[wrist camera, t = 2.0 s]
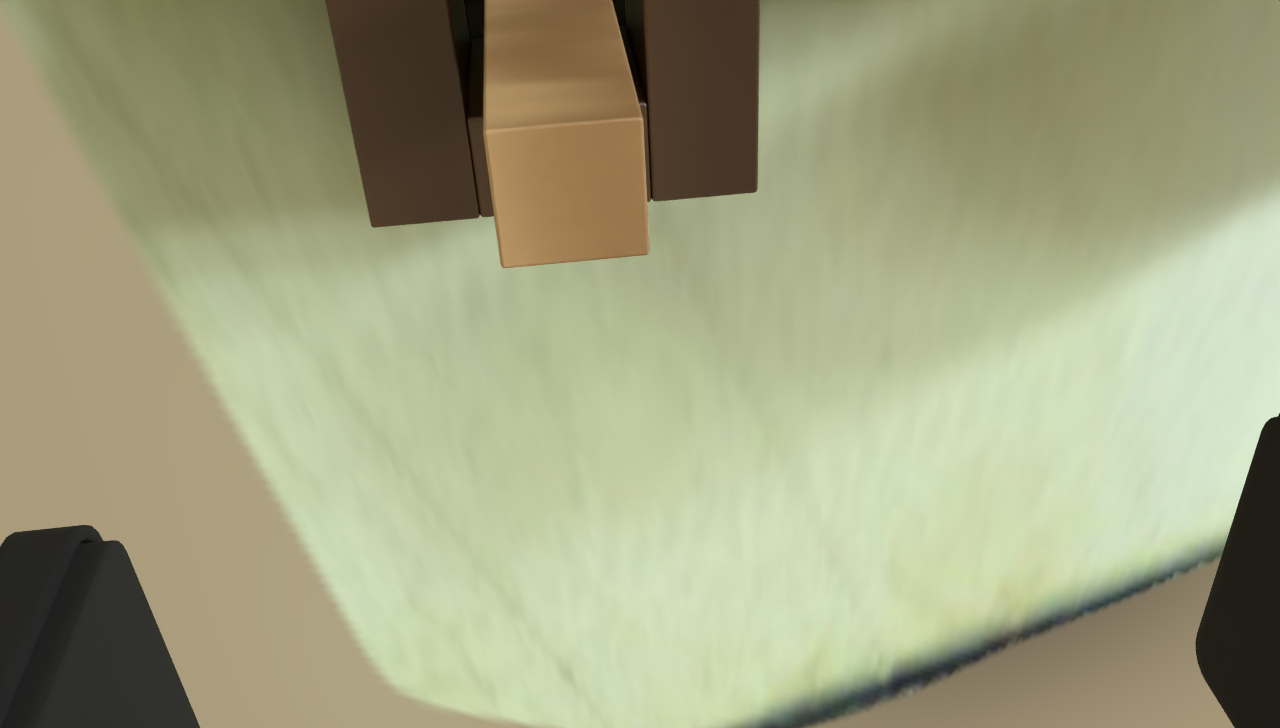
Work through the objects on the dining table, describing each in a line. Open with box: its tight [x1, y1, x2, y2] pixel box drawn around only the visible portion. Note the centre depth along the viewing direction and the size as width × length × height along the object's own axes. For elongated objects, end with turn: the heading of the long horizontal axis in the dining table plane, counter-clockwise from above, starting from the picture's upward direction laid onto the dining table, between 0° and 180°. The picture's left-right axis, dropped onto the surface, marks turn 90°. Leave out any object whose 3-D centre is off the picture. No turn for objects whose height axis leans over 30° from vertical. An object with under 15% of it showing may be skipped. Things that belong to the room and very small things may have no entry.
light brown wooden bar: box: [483, 0, 650, 268], centre depth 23 cm, size 2×2×13 cm
